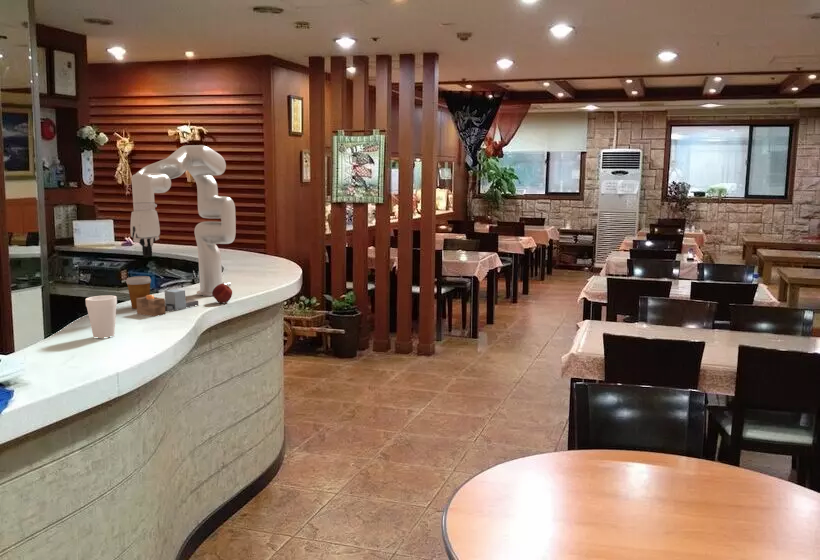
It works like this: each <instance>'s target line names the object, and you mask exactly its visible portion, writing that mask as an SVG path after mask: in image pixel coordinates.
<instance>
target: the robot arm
mask: <svg viewBox="0 0 820 560" xmlns="http://www.w3.org/2000/svg"><path fill="white" fill-rule="evenodd" d="M226 168H227V163H226V160H225V159H224V157H223V156H222V155H221V154H220V153H218V152H217V151H216V150H214V149H213V148H210V147H209V146H206V145H204V144H199V145H198V144H196V145H195V144H192V145H188V144H187V145H183V146H181V147H178V148H177V149H176V150H175V151H174V152H172V153H171V154H170V155H168V156H167V157H166V158H163V159H161V160H159V161H156V162H153V163H151V164H147V165H146V166H144V167H141V169H140V170H138V171H137V172H136V173H135V174H133V175H131V188H132V189H131V191H132V205H133V206H132V207H133V211H131V215H130V225H129V226H130V237H131V238H132V241H133V242H135V243H138V244H139V245H140V246H141V247H142V248H141V249H142V256H143V257H144V258H151V257H153V248H152V247H153V245H154V243H155V242H156V241H158V240H160V235H161V229H160V226H161V225H160V221H159V215H158V211H157V210H156V208H157V206H158V204H157V203H155V194H165V193H166V192H168V191H169V190H170V188H172V179H177V178H179V177H181V176H182V175H183V174H185V173H186V172H188V173H189V175H191V176H192V179H194V181H195V183H196V189H197V190H196V191H197V192H196V193H197V214H198V215H199V217H201V218H203V219H220V220H221V221H201V222H199V223H197V224H196V225H195V227H194V236H195V237H194V238H195V242H196V246H197V255H198V257H197V258H198V273H199V274H198V276H199V290H197V291H196V295H197V296H200V295H203V296H204V297H211V296H212V297H213V295H212V292H213V289H214V288H215V287H216V286H217V285H219V284H225V285H227V286H228V287H230V288H231V282H223V270H222V253H221V251H220V248H219V247H218V245H219V244H220V245H229V244H232V243H233V242H234V241H235V238H236V233H237V232H236V230H237V229H236V228H237V227H236V226H237V225H236V223H237V222H236V221H237V218H236V203H235V202H234V200H233V199H232V198H231V196H230V197H229V196H224V195H223V196H222V195H220V196H219V189H218V183H217V181H216V179H215V178H214V176H221V175H223V174H224V173H225V171H226ZM203 296H202V297H203Z"/></svg>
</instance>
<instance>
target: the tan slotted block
mask: <svg viewBox="0 0 820 560" xmlns="http://www.w3.org/2000/svg"><path fill="white" fill-rule="evenodd" d="M136 302H137V309H136V312H137V313H136V314H137V315H143V316H150V317H157V316H158V315H159V316H163V314H164V315H166V311H165V297H164V298H163V297H155V296H154V299H150V300H148V299H146V297H140V298H136Z"/></svg>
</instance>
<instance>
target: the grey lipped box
mask: <svg viewBox="0 0 820 560" xmlns="http://www.w3.org/2000/svg"><path fill="white" fill-rule="evenodd" d="M164 301H165V305H167V304H172V305H174V309H179V310H182V309H181V308H184V309H187V308H186V301H187V300H186V290H185V289H177V288H174V289H173V288H172V289H167V290H164Z"/></svg>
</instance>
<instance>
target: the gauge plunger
mask: <svg viewBox="0 0 820 560" xmlns="http://www.w3.org/2000/svg"><path fill="white" fill-rule="evenodd" d="M154 297H155V295H154V294H150V295H146V299H148V300H150V299H154Z"/></svg>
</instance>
